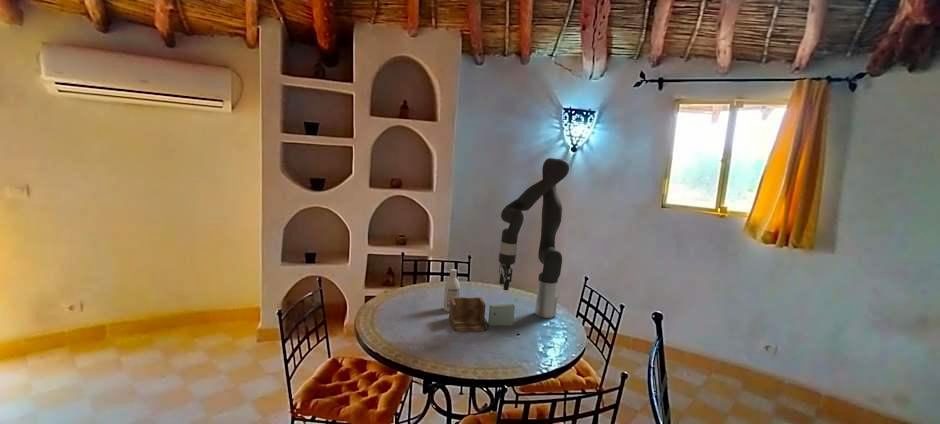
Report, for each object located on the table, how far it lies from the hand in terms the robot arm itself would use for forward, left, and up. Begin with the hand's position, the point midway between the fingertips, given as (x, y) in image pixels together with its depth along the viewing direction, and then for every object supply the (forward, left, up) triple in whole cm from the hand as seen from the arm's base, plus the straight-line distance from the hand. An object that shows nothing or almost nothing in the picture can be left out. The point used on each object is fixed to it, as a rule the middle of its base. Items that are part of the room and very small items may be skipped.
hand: (503, 286), depth 227 cm
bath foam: (+21, -16, -17) cm, 31 cm away
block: (0, +1, -17) cm, 17 cm away
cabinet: (+16, +1, -17) cm, 23 cm away
